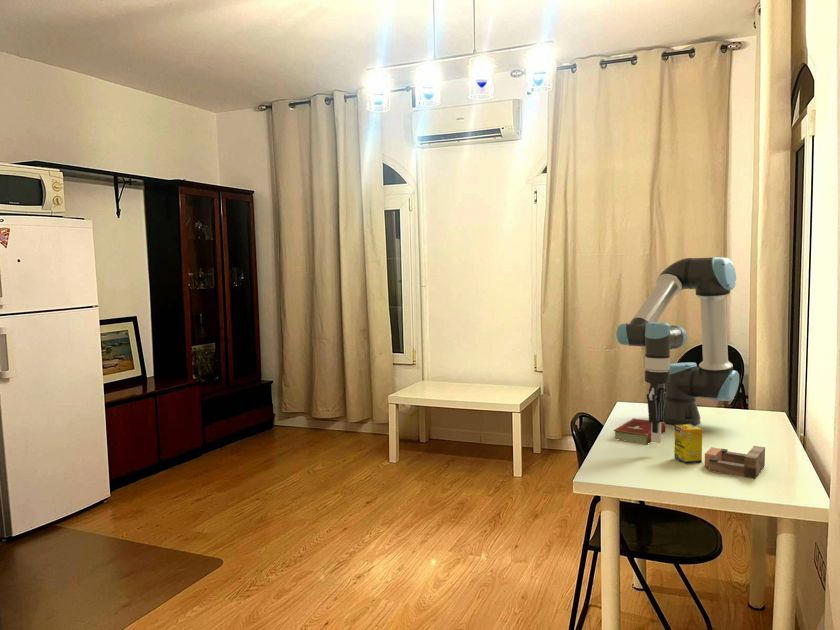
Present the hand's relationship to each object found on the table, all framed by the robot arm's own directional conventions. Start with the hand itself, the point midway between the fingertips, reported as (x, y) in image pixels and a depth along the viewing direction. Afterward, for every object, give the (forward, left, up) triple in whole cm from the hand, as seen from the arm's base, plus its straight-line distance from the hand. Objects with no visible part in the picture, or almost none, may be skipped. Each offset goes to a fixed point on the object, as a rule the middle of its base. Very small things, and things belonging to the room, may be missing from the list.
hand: (656, 441), depth 207 cm
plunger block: (0, +17, -4) cm, 18 cm away
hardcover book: (-21, -12, -5) cm, 25 cm away
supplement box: (0, +10, -5) cm, 11 cm away
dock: (0, +24, -4) cm, 25 cm away
